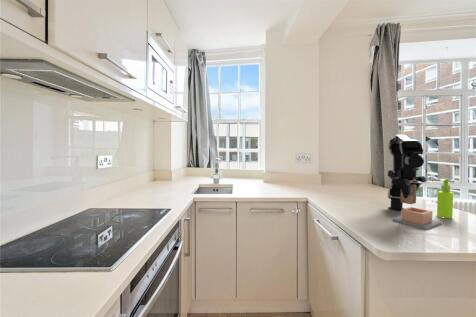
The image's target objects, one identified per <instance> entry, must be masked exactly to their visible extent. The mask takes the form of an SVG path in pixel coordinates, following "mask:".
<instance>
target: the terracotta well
mask: <svg viewBox="0 0 476 317" xmlns="http://www.w3.org/2000/svg"><path fill="white" fill-rule="evenodd" d="M404 208H405V207H404ZM400 214H401V216H398V217H397V216H396V217H395V218H392V222H396V223H400V224H404V225H407V226H411V227H414V228H418V229H423V230H426V231H427V230H430V229H433V228H435V227H437V226H440V224H441V225H442V221H437V220H434V219H433V210H428V209H423V208H418V207H413V206H410V207H406V208H405V209H402V210H401V213H400Z"/></svg>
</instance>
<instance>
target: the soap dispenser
mask: <svg viewBox="0 0 476 317" xmlns="http://www.w3.org/2000/svg"><path fill="white" fill-rule="evenodd" d="M450 180H451V178H450V179H449V178H440V179H439V181H440V182H443V184H441V185H440V188H441V189H440V190H438V191H437V205H436V206H437V208H436V217H438V216H439V217H438V218H440V217H444V218H443V219H446V218H452V219H453V214H454V213H453V212H454V211H453V210H454V209H453V208H454V192H453V191H451V185H450V184H449V181H450Z"/></svg>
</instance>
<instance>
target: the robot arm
mask: <svg viewBox="0 0 476 317" xmlns="http://www.w3.org/2000/svg"><path fill="white" fill-rule="evenodd" d="M387 148H388V150H389V153H390V155H391V156H392V169H391V170H388V171H387V177H389V178H390V181H391V182H390V185H389V188H388V191H387V198H388V199H389V200H390V206H389V207H387V209H389V210H395V211H398V212H400V211H401V212H402V209H405V207H403V205H404V204H403V203H402V202H400V200H401V191H402V193H403V196H404V198H407V197H408V195H409V192H410V190H411V187H412V185H410V184H414V185H416V192H417V191H418V189H419V188H420V186H421V185H422V184H423V183H426V182H427V181H426V180H427V178H426V177H425V176H423V175H417V173H418V172H417V171H419V168H421V167H422V166H423V165H424V163H425V160H424V158H423V157H422V155H423V153H424V148H423V145H422V143H421V142H420V140H418V139H411V138H410V137H408V136H407V134H395V135H394V137H393V138H391V139H390V140H389V143H388V147H387Z"/></svg>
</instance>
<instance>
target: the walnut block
mask: <svg viewBox="0 0 476 317" xmlns="http://www.w3.org/2000/svg"><path fill="white" fill-rule="evenodd" d="M410 185H412V187H411V190H410V192H409V195H408V197H407V198H404V196H403V193H402V191H401V200H400V202H402V203H404V204H408V205H414V204H416V203H417V191H416V185H414V184H410Z"/></svg>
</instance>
